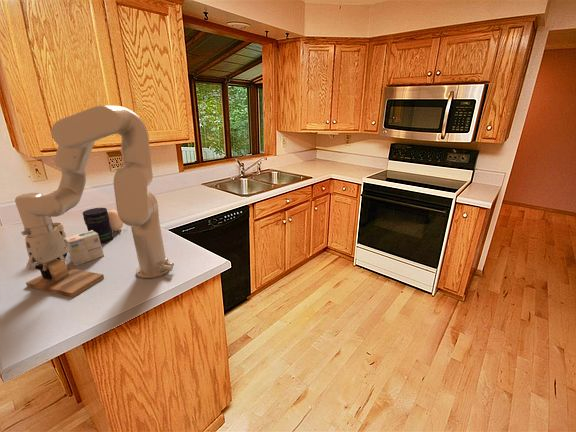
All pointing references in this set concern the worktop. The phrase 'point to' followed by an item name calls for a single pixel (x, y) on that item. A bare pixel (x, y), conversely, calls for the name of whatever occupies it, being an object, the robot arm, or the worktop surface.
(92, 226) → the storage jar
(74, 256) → the light bulb box
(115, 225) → the egg
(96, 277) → the board
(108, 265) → the worktop surface
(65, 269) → the block
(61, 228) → the character mug
